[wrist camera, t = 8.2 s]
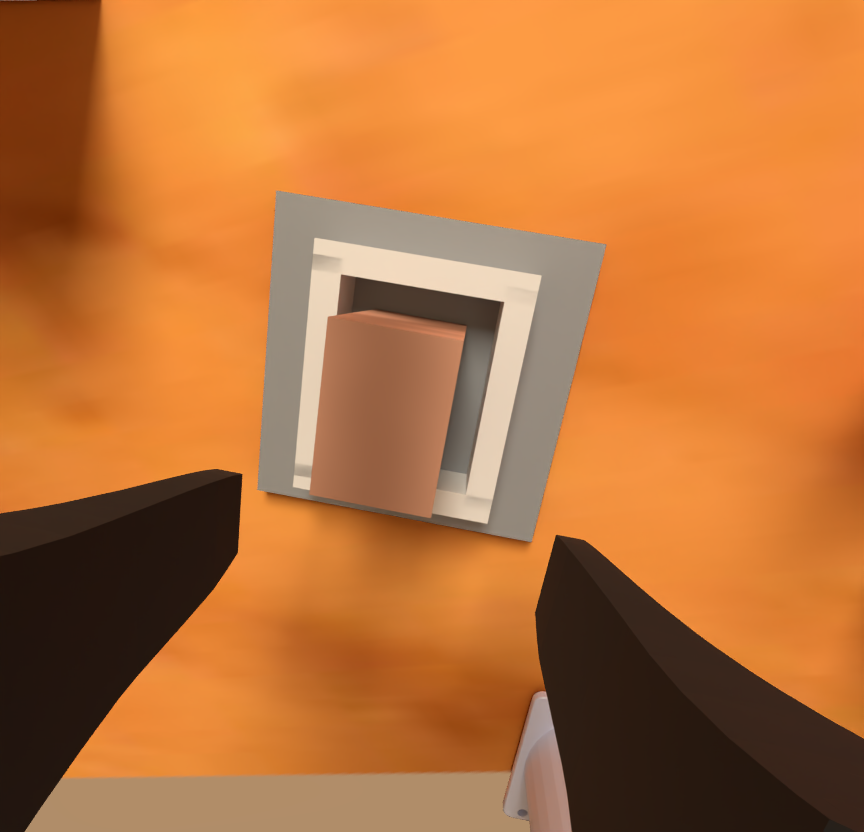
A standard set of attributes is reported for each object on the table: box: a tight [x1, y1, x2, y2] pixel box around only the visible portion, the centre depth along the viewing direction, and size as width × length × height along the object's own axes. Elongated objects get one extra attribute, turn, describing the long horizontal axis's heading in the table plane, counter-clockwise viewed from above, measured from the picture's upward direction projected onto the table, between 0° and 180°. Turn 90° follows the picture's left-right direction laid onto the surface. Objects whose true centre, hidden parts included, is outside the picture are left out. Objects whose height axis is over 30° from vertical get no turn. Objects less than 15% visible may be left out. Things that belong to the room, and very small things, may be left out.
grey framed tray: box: [257, 191, 606, 542], centre depth 17 cm, size 12×12×3 cm
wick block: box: [309, 309, 467, 518], centre depth 15 cm, size 4×5×6 cm
